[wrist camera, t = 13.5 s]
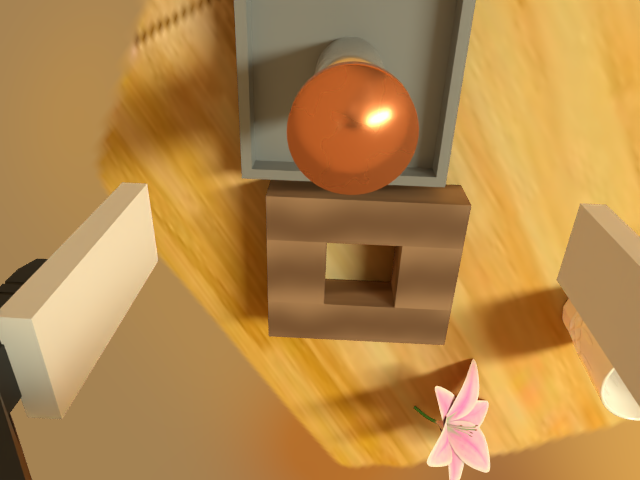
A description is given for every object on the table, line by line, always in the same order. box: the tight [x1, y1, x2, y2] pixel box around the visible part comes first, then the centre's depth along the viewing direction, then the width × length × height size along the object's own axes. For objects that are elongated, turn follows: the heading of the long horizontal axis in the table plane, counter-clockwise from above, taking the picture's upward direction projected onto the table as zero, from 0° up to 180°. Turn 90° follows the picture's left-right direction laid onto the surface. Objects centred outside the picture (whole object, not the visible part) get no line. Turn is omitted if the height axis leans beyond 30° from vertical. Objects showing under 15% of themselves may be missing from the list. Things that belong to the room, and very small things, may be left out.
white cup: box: [562, 299, 640, 421], centre depth 44 cm, size 8×8×10 cm
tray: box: [234, 0, 476, 187], centre depth 38 cm, size 16×16×3 cm
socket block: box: [266, 180, 471, 345], centre depth 45 cm, size 14×16×4 cm
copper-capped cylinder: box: [287, 37, 419, 195], centre depth 31 cm, size 6×6×15 cm
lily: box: [414, 359, 490, 480], centre depth 52 cm, size 12×12×10 cm
